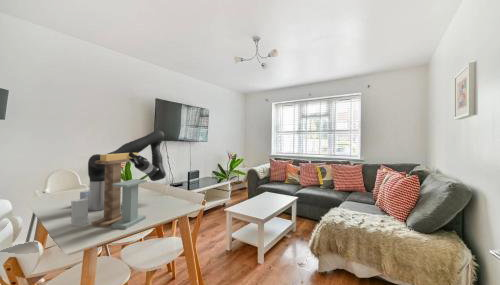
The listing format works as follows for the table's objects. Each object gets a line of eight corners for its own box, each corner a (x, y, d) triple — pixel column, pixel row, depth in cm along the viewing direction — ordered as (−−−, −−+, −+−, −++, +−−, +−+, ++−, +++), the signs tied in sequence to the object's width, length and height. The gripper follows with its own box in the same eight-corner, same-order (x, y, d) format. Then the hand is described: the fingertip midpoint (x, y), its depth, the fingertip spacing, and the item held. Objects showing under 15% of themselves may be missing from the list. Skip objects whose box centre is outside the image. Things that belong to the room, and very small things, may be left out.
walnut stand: (91, 225, 101) (92, 160, 101) (114, 215, 114) (115, 158, 114) (108, 227, 99) (110, 161, 99) (130, 216, 113) (131, 159, 113)
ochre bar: (100, 160, 101) (100, 154, 101) (132, 157, 123) (132, 152, 123) (106, 160, 100) (106, 154, 100) (138, 157, 122) (138, 152, 122)
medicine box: (85, 206, 129) (85, 192, 129) (79, 205, 130) (79, 191, 130) (96, 202, 137) (97, 189, 137) (91, 202, 138) (91, 189, 138)
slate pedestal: (111, 227, 99) (112, 184, 99) (132, 217, 112) (133, 179, 112) (126, 229, 97) (127, 185, 97) (145, 218, 111) (146, 179, 111)
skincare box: (86, 221, 106) (86, 197, 106) (88, 223, 103) (88, 199, 103) (70, 224, 101) (70, 200, 101) (72, 227, 98) (72, 202, 98)
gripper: (136, 160, 133) (118, 147, 119) (156, 160, 131) (140, 147, 116) (132, 170, 130) (112, 158, 115) (152, 171, 127) (135, 159, 112)
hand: (126, 153), depth 116 cm, fingers closed on ochre bar, 3 cm apart
